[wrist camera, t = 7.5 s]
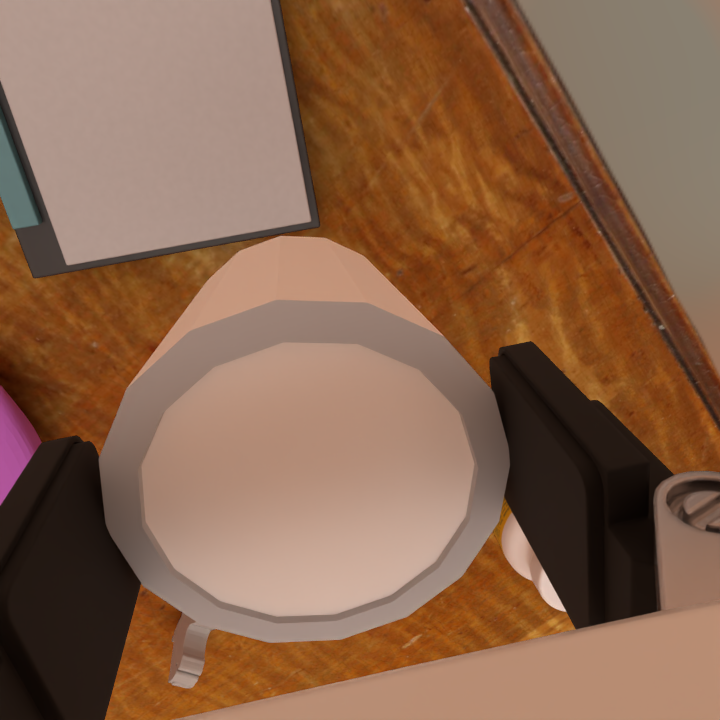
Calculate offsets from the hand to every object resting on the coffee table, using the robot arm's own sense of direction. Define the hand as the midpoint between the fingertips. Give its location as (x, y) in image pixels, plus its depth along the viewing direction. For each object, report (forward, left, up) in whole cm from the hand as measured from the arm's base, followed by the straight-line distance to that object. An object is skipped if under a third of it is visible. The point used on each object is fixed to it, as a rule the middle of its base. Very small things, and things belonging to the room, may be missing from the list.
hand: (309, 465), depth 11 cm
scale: (+5, -5, -24) cm, 25 cm away
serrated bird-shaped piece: (+9, +23, -24) cm, 34 cm away
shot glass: (0, 0, -6) cm, 6 cm away
